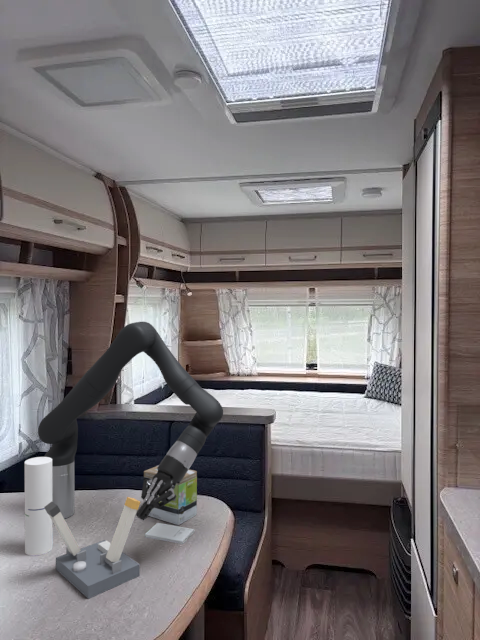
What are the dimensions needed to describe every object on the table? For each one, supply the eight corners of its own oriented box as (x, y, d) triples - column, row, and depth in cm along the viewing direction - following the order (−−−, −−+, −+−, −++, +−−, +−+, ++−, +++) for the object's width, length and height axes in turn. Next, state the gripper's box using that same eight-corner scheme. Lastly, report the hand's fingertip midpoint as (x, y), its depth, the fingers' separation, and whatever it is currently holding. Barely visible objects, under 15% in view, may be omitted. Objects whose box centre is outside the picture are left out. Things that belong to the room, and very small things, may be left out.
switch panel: (55, 569, 126) (55, 548, 126) (104, 550, 136) (104, 531, 136) (88, 598, 114) (88, 576, 114) (139, 575, 124) (139, 554, 123)
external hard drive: (158, 527, 152) (194, 533, 148) (144, 539, 144) (182, 546, 140) (158, 522, 152) (194, 528, 148) (144, 533, 144) (182, 540, 140)
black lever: (69, 554, 128) (43, 506, 122) (76, 548, 129) (50, 500, 124) (77, 561, 125) (50, 511, 119) (84, 554, 126) (58, 505, 121)
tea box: (197, 515, 160) (198, 470, 159) (178, 526, 151) (178, 479, 151) (162, 504, 168) (163, 462, 167) (142, 515, 159) (142, 470, 159)
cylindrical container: (42, 557, 132) (42, 466, 131) (19, 554, 134) (18, 463, 133) (57, 544, 139) (57, 457, 138) (35, 541, 141) (34, 456, 140)
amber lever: (101, 561, 123) (126, 496, 127) (109, 562, 124) (132, 497, 129) (110, 568, 120) (135, 501, 124) (118, 569, 121) (141, 502, 125)
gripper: (155, 449, 139) (117, 503, 130) (184, 459, 129) (145, 519, 121) (170, 463, 143) (134, 517, 134) (200, 475, 133) (162, 533, 125)
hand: (139, 518), depth 128 cm, fingers closed
